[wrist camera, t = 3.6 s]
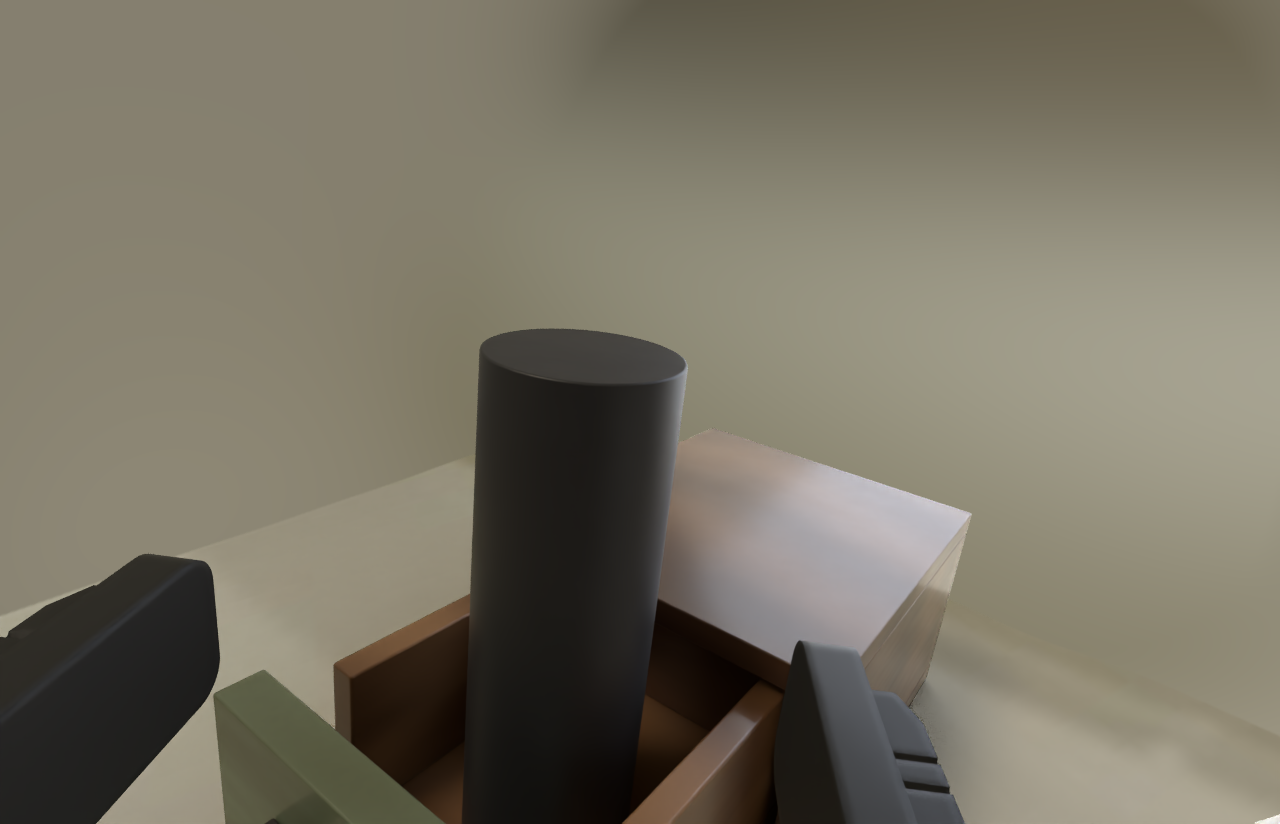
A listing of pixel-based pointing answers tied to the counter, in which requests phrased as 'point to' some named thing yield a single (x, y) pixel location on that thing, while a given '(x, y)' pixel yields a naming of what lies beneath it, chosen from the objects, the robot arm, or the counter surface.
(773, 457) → the cabinet
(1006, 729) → the counter surface
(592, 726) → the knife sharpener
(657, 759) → the drawer
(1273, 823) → the perfume bottle
